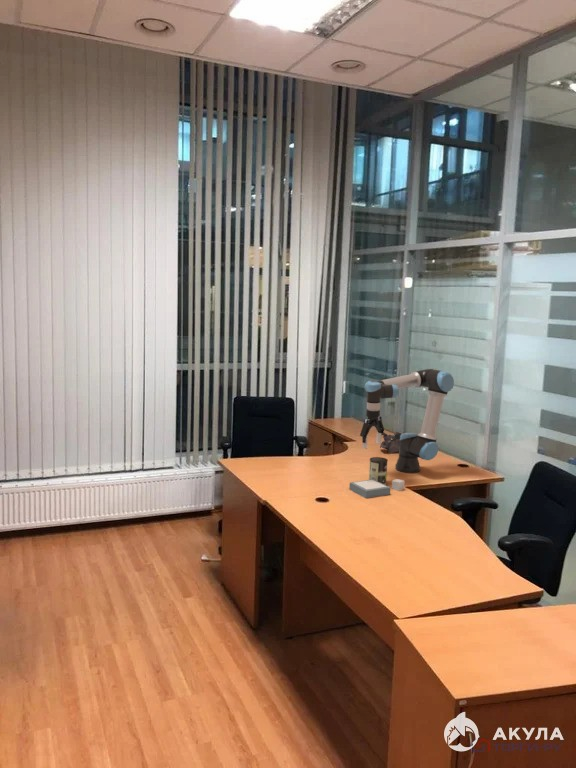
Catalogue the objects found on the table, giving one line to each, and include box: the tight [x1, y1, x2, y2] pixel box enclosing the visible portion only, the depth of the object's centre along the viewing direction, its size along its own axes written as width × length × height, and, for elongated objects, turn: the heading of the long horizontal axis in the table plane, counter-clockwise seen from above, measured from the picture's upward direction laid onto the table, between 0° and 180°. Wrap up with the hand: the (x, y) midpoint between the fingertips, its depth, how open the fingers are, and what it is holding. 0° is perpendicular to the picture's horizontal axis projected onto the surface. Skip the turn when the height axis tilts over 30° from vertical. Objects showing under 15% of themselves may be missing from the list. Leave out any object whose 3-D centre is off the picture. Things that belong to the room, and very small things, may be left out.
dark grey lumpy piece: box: [379, 431, 402, 454], centre depth 431 cm, size 14×15×20 cm
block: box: [391, 478, 405, 492], centre depth 351 cm, size 5×5×5 cm
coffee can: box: [368, 456, 388, 485], centre depth 361 cm, size 10×10×14 cm
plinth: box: [348, 479, 391, 499], centre depth 345 cm, size 16×16×4 cm
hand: (371, 446), depth 357 cm, fingers open, 13 cm apart
